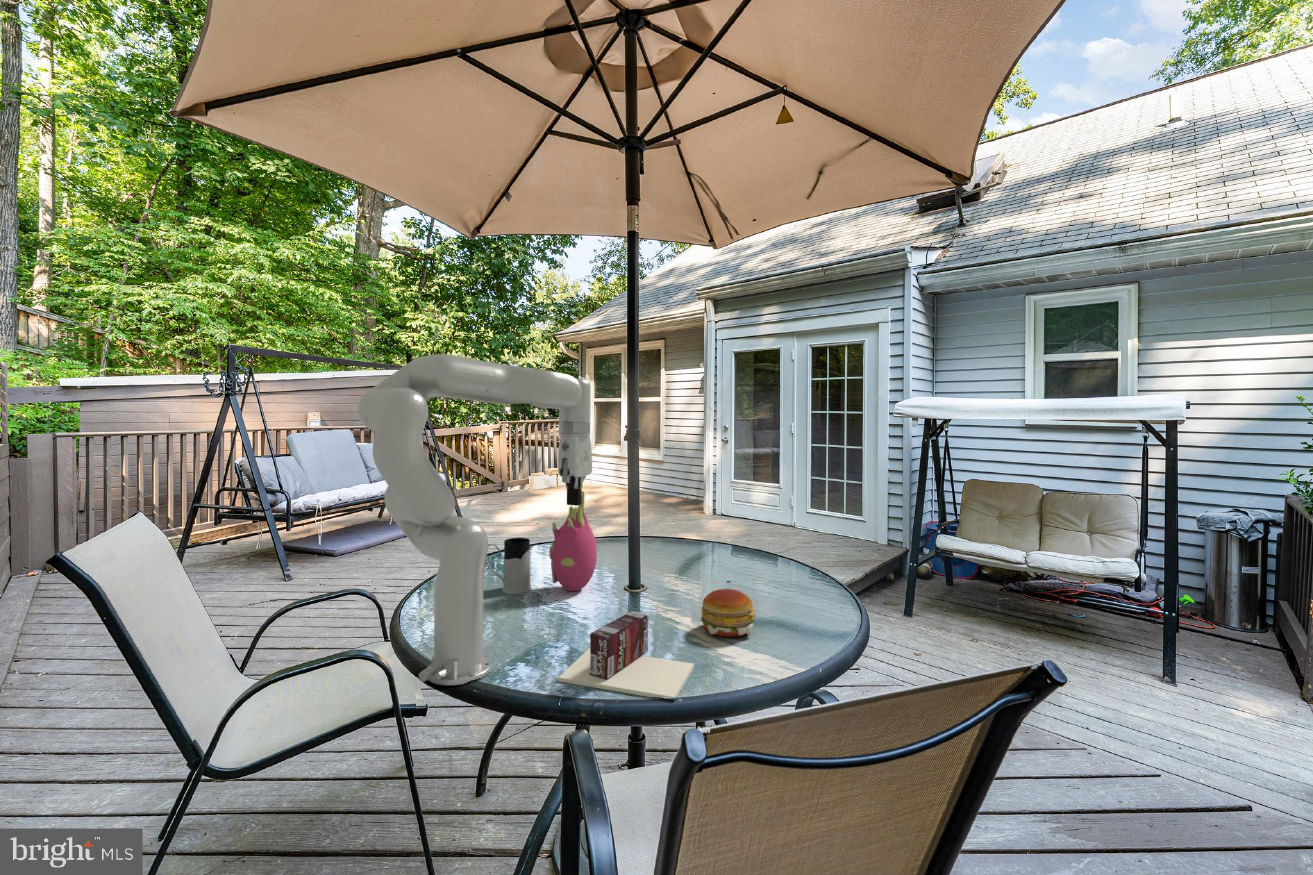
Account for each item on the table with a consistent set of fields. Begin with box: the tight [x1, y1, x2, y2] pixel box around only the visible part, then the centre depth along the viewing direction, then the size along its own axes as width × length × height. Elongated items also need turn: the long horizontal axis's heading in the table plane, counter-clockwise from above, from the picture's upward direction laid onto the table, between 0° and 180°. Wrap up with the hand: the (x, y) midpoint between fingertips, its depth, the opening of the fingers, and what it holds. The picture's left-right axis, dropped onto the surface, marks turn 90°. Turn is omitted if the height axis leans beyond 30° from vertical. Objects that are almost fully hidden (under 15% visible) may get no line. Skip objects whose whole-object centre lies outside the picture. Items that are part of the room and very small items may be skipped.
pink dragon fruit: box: [549, 490, 598, 592], centre depth 170 cm, size 18×14×30 cm
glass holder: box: [485, 537, 533, 595], centre depth 170 cm, size 9×14×15 cm, turn 89°
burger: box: [700, 588, 756, 638], centre depth 139 cm, size 13×14×10 cm
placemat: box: [557, 647, 695, 698], centre depth 115 cm, size 15×24×1 cm, turn 72°
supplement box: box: [589, 610, 650, 680], centre depth 118 cm, size 9×5×16 cm
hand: (574, 504), depth 137 cm, fingers closed
